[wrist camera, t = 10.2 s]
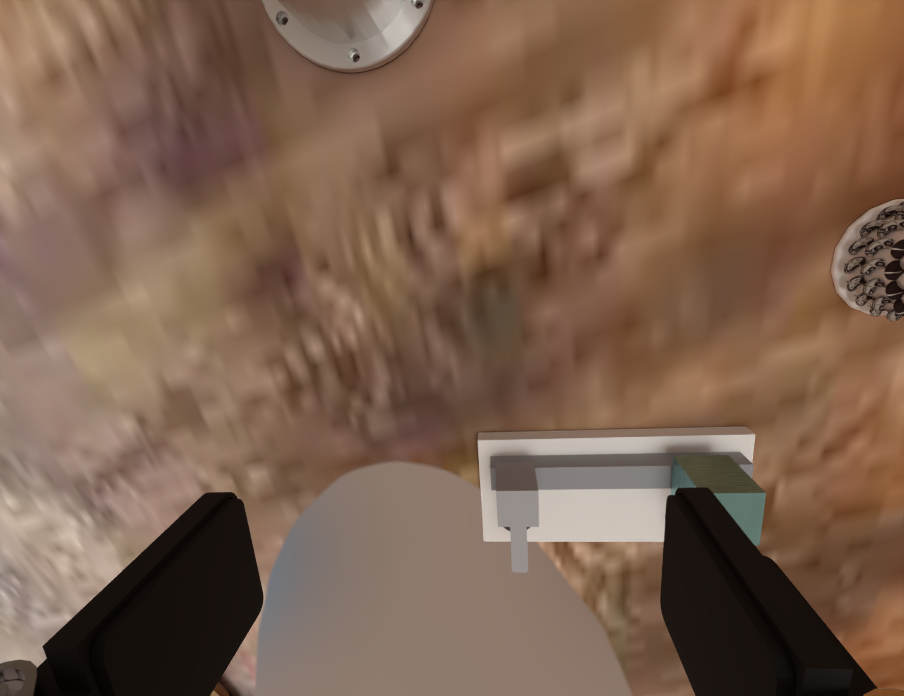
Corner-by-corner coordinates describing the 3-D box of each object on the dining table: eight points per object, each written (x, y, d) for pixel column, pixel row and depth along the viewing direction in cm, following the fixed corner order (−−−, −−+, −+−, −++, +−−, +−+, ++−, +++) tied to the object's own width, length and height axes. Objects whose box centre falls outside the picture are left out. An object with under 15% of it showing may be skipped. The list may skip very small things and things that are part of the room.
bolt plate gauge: (478, 432, 40) (474, 479, 33) (745, 426, 38) (804, 474, 31) (484, 530, 43) (481, 593, 36) (734, 530, 40) (786, 597, 33)
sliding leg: (664, 444, 37) (701, 493, 30) (717, 443, 36) (765, 492, 30) (660, 525, 39) (693, 587, 32) (710, 525, 38) (754, 588, 32)
